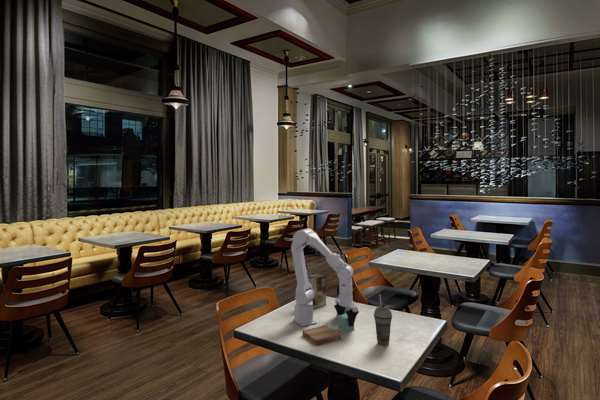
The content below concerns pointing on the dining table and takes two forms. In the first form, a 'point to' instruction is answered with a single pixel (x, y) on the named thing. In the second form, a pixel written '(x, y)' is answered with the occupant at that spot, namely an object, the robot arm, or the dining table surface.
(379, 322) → the beverage cup
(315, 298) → the coffee box
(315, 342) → the walnut base
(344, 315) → the teal block
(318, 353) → the dining table surface
